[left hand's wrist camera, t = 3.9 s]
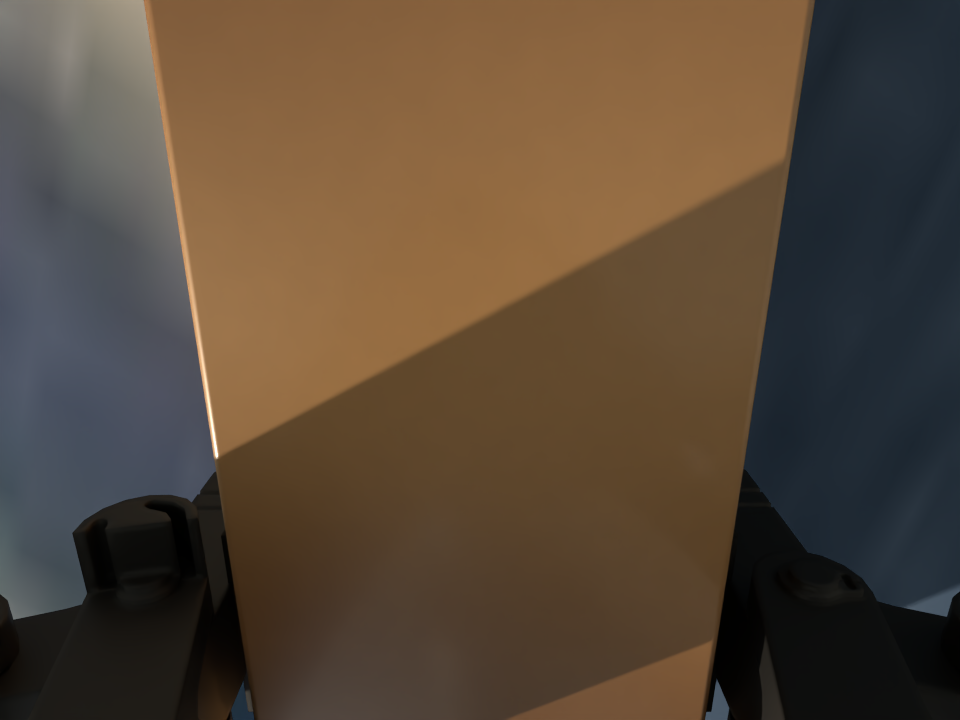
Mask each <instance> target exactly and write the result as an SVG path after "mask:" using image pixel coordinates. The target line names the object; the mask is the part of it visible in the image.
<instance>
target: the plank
mask: <svg viewBox="0 0 960 720" xmlns="http://www.w3.org/2000/svg"><path fill="white" fill-rule="evenodd" d="M144 4H145V11H146V17H147V24H148V30H149V37H150V43H151V50H152V56H153V63H154V69H155V76H156V82H157V89H158V95H159V102H160V108H161V115H162V121H163V128H164V134H165V141H166V147H167V154H168V160H169V167H170V173H171V180H172V186H173V193H174V199H175V206H176V212H177V219H178V225H179V232H180V238H181V245H182V251H183V258H184V264H185V271H186V277H187V284H188V290H189V297H190V303H191V310H192V316H193V323H194V329H195V336H196V342H197V349H198V355H199V362H200V368H201V375H202V381H203V388H204V394H205V401H206V407H207V414H208V420H209V427H210V433H211V440H212V446H213V453H214V459H215V466H216V472H217V479H218V485H219V492H220V498H221V505H222V511H223V518H224V525H225V531H226V538H227V544H228V551H229V557H230V564H231V570H232V577H233V583H234V590H235V596H236V603H237V609H238V616H239V622H240V629H241V635H242V642H243V648H244V655H245V661H246V668H247V674H248V681H249V687H250V694H251V700H252V707H253V713H254V720H705V716H706V709H707V703H708V696H709V690H710V683H711V676H712V670H713V663H714V657H715V650H716V644H717V637H718V631H719V624H720V618H721V611H722V605H723V598H724V592H725V585H726V579H727V572H728V565H729V559H730V552H731V546H732V539H733V533H734V526H735V520H736V513H737V507H738V500H739V494H740V487H741V481H742V474H743V467H744V461H745V454H746V448H747V441H748V435H749V428H750V422H751V415H752V409H753V402H754V396H755V389H756V383H757V376H758V369H759V363H760V356H761V350H762V343H763V337H764V330H765V324H766V317H767V311H768V304H769V298H770V291H771V285H772V278H773V272H774V265H775V258H776V252H777V245H778V239H779V232H780V226H781V219H782V213H783V206H784V200H785V193H786V187H787V180H788V174H789V167H790V160H791V154H792V147H793V141H794V134H795V128H796V121H797V115H798V108H799V102H800V95H801V89H802V82H803V76H804V69H805V62H806V56H807V49H808V43H809V36H810V30H811V23H812V17H813V10H814V4H815V0H144Z"/></svg>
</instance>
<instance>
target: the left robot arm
mask: <svg viewBox="0 0 960 720" xmlns="http://www.w3.org/2000/svg"><path fill="white" fill-rule="evenodd" d="M73 537H74V542H75V546H76V550H77V554H78V558H79V562H80V566H81V570H82V574H83V578H84V582H85V586H86V590H87V595H86V597H85V599H84V601H83V604H82V605H79V606H75V607H71V608H68V609H63V610H59V611H54V612H49V613H44V614H40V615H35V616H30V617H25V618H20V619H16V620H13V617H12V614H11V610H10V607H9V604H8V601H7V600H6V599H5V598H4V597H3V596H2V595H0V720H233V719H232V713H231V708H232V706H233V704H234V701H235V699H236V696H237V694H238V692H239V689H240V687H241V684H242V682H243V681H244V687H245V693H246V700H247V706H248V712H253V707H252V700H251V694H250V687H249V681H248V674H247V668H246V661H245V655H244V648H243V642H242V635H241V629H240V622H239V616H238V609H237V603H236V596H235V590H234V583H233V577H232V570H231V564H230V557H229V551H228V544H227V538H226V531H225V525H224V518H223V511H222V505H221V498H220V492H219V485H218V479H217V472H215V473H213V475H212V476H211V477H210V479H209V480H208V481H207V483H206V484H205V485H204V487H203V488H202V489H201V491H200V495H197V496H196V497H195V499H194V500H193V502H192V503H191V502H190V501H189V500H188V499H186V498H181V497H177V496H173V495H148V496H143V497H138V498H133V499H128V500H125V501H122V502H119V503H117V504H114V505H111V506H109V507H106V508H103V509H102V510H100V511H98V512H97V513H95V514H94V515H92V516H90V517H89V518H87V519H85V520H84V521H83V522H82V523H81V524H80V525H79V526H78V528H77V529H76V530H75V531H74V532H73ZM716 678H717V680H718V682H719V684H720V687H721V689H722V692H723V694H724V696H725V699H726V701H727V703H728V706H729V713H728V719H727V720H960V592H959V593H957V594H956V595H955V596H954V597H953V598H952V602H951V605H950V608H949V612H948V615H947V617H945V616H940V615H935V614H930V613H925V612H920V611H916V610H911V609H906V608H901V607H896V606H892V605H888V604H885V603H881V602H877V600H876V598H875V596H874V594H873V592H872V591H871V590H870V588H869V587H868V586H867V584H866V583H865V582H864V580H863V579H862V578H861V577H859V576H858V575H856V574H855V573H854V572H852V571H851V570H849V569H848V568H847V567H845V566H844V565H842V564H839V563H837V562H835V561H832V560H830V559H828V558H826V557H823V556H820V555H816V554H811V553H808V552H807V551H806V550H805V548H804V547H803V546H802V544H801V543H800V542H799V540H798V539H797V538H796V536H795V535H794V534H793V532H792V531H791V530H790V528H789V527H788V526H787V524H786V523H785V522H784V520H783V519H782V518H781V516H780V515H779V514H778V512H777V511H776V510H775V508H774V507H771V503H770V502H769V501H768V499H767V498H766V497H765V495H764V494H763V493H762V492H760V489H759V487H758V486H757V485H756V483H755V482H754V481H753V479H752V478H751V477H750V475H749V474H748V473H747V471H746V470H744V469H743V474H742V481H741V487H740V494H739V500H738V507H737V513H736V520H735V526H734V533H733V539H732V546H731V552H730V559H729V565H728V572H727V579H726V585H725V592H724V598H723V605H722V611H721V618H720V624H719V631H718V637H717V644H716V650H715V657H714V663H713V670H712V676H711V683H710V690H709V696H708V703H707V709H706V712H711V710H712V703H713V697H714V690H715V684H716Z"/></svg>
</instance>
